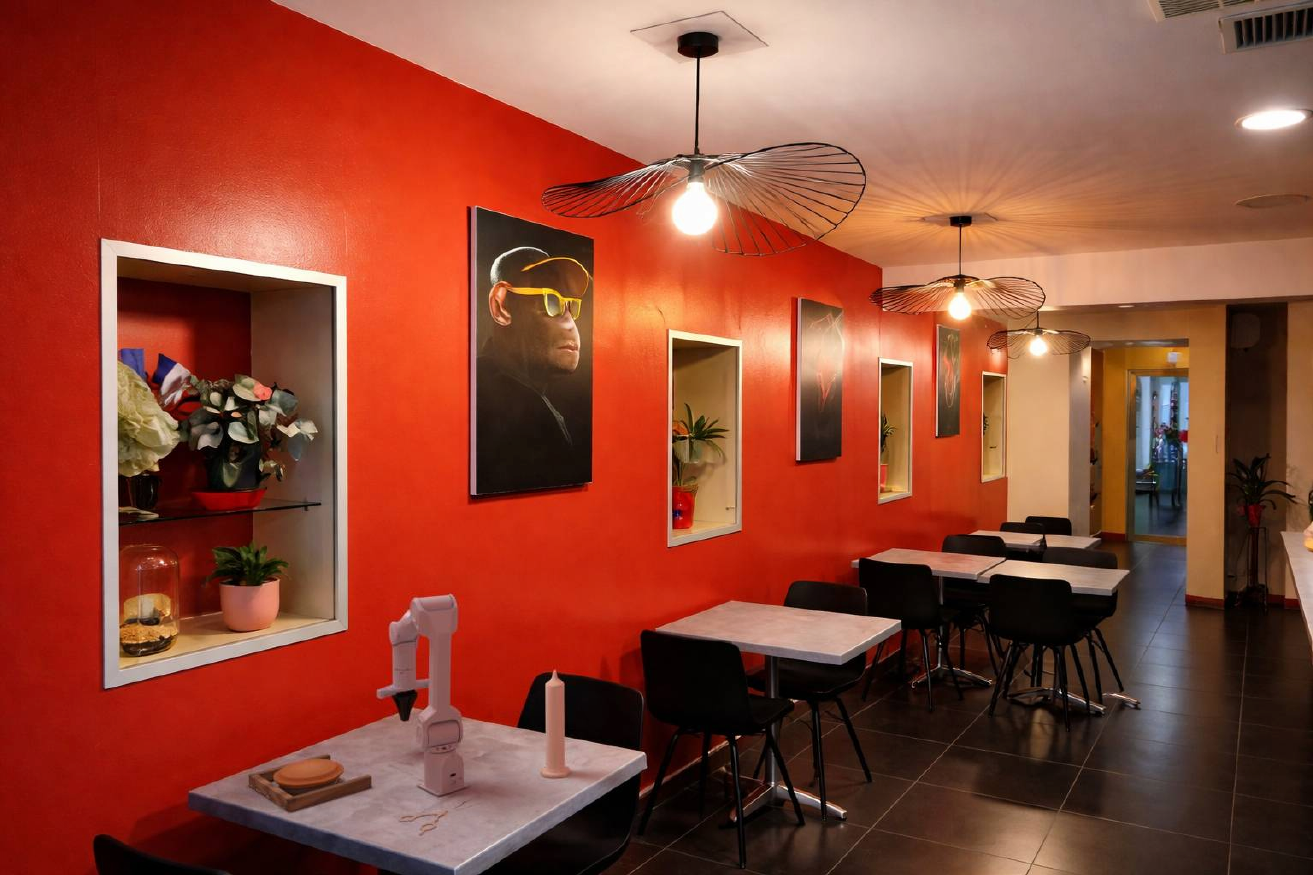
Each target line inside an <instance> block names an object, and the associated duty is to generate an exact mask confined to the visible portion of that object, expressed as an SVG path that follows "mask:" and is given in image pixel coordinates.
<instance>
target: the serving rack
mask: <svg viewBox="0 0 1313 875" xmlns="http://www.w3.org/2000/svg"><path fill="white" fill-rule="evenodd" d="M309 759H328V760H331V755H330V754H329V753H326V754H322V755H319V756H314V757H310V758H306V759H305V760H309ZM303 760H304V759H302V760H301V761H303ZM289 764H290V763H287V764H284V765H280V766H277V767H273V768H269V769H265V770H261V771H258V772H253V773H250V774H248V786H249V785H251V786H252V787H253V788H252V787H251V786H250V787H251V788H252V789H254V788H255V789H257V790H258V791H260V792H261V793H263V794H264V795H266V796H268V797H269V798H270V799H269V798H268V799H269V800H271V801H272V800H273V801H272V802H274V801H275V802H276V803H275V802H274V803H275V804H277V803H278V804H279V807H281V808H283V807H284V808H285V809H284V808H283V809H284V810H286V811H288V812H294V811H297V810H299V809H303V808H307V807H309V806H313V805H316V804H317V805H318V804H320V803H324V802H327V801H330V800H333V799H337V798H340V797H344V796H347V795H349V794H350V795H351V794H353V793H356V792H360V791H363V790H366V789H370V788H372V775H370V774H367V775H363V776H359V777H357V778H353V779H348V780H346V781H342V782H339V783H335V785H331V786H328V787H324V788H321V789H318V790H314V791H311V792H307V793H304V794H300V795H297V796H291V795H290V794H288V793H286V792H285V791H283V790H282V789H281V788H280V787H278V786H276V785H275V784H273V783H272V782H275V781H274V778H273V776H274V774H275V773H276V772H277V771H279V770H280V769H282V768H284V767H285V766H287V765H289ZM270 781H271V782H270ZM255 789H254V790H255ZM257 790H256V791H257ZM258 791H257V792H258ZM260 792H259V793H260ZM261 793H260V794H261ZM263 794H262V795H263ZM264 795H263V796H264ZM266 796H265V797H266ZM278 804H277V805H278Z"/></svg>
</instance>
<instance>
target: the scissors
mask: <svg viewBox="0 0 1313 875" xmlns="http://www.w3.org/2000/svg"><path fill="white" fill-rule="evenodd" d="M471 799H472V797H470V798H468V799H466V800H464V801H466V802H468V801H469V800H471ZM458 804H461V802H459V803H458ZM461 805H462V804H461ZM461 805H457V804H454V805H453V806H451V807H457V808H459V806H461ZM463 807H466V808H470V807H472V804H469V806H468V805H465V806H463ZM457 808H456V809H457ZM449 810H454V809H450V807H448V808H446V809H444V810H439V811H435V812H431V813H421V814H404V815H402V816H400V817H398V819H397V820H398V822H400V823H408V822H407V821H409V822H413V821H415V820H416V819H417V818H421V817H428V816H429V817H430V815H435V816H436V818H435V819H434V820H432V821H429V822H426V823H425V822H424V823H422V824H421V825H420V827H419V830H420V832H419V833H418V836H423V834H424V833H426V832H428V831H432V830H434V829H435V828H436V822H439V818H441V817H443V816H444V814H445V815H447V814H449V813H452V811H449ZM456 811H459V809H457V810H455V811H454V812H456ZM446 813H447V814H446ZM411 817H412V818H411ZM404 818H408V819H404ZM414 819H415V820H414ZM412 820H413V821H412ZM425 826H426V827H427V826H431V827H429V828H428V827H427V828H424V827H425Z"/></svg>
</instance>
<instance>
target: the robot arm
mask: <svg viewBox="0 0 1313 875" xmlns="http://www.w3.org/2000/svg"><path fill="white" fill-rule="evenodd" d="M458 618H459V606H458V604H457V600H456V597H455V596H454V595H453V594H451V593H449V594H448V593H447V595H437V596H435V595H434V596H427V597H426V596H425V597H414V598H413V599H412V600H411V602H410V607H409V609H408V610H407V611H406V613H404V615H403V616H402V617H401V618H400V620H399V621H392V622H391V623H390V624H389V628H388V634H389V636H388V637H389V641H390V644H391V645H392V684H391V685H388V686H386V687H382V688H378V689H377V690H376V698H378V699H381V700H382V699H385V698H386V697H390V698H392V700H393V702H394V704H395V706H396V709H397V711H398V715H399V719H400V721H402V722H409V721H410V718H411V713H412V710H413V707H414V704H415V702H416V700H417V699H418V697H419V692H418V691H416V690H422V689H425V688H426V689H428V705H427V707H426V708H424V709H423V710H422V712H420V713H419V714H418V716H417V717H418V718H417V724H416V729H415V739H416V740H415V741H416V743H417V747H419V749H421V751H423V775H424V776H423V778H424V779H423V780H424V781H420V782H418V783H416V786H417V787H419V788H421V789H422V790H424V791H427V792H429V793H431V794H432V795H435V796H437V797H440V796H443V795H446V794H450V793H452V792H455V791H460V790H462V789H464V788H467V787H468V784H466V783H465V768H464V767H465V762H464V758H463V757H462V756H461V755H460V754H459V753H458V752H457V748H459V744H460V743H461V742H462V740H463V738H464V724H463V719H462V718H463V717H462V714H461V712H460V711H459V709H458V708H456V707H455V706H453V705H451V662H452V660H451V658H452V657H451V656H452V655H451V653H452V635H453V634H454V633H455V632H457V630H458V624H459V622H458V621H459V619H458ZM420 636H422V637H425V638H427V639H428V641H429V648H428V649H429V654H428V655H429V656H428V657H429V659H428V661H429V662H428V663H429V664H428V669H429V670H428V678H425V679H416V678H417V670H416V669H417V666H416V664H417V662H416V660H417V659H416V653H417V652H416V650H418V643H419V638H420Z"/></svg>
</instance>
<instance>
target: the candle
mask: <svg viewBox="0 0 1313 875" xmlns="http://www.w3.org/2000/svg"><path fill="white" fill-rule="evenodd" d="M565 713H566V712H565V682H564V681H562V680H561V679H560V678H559V677H558V674H557V670H556V669H554V670H553V672H552V677H551V679H550V680H548V681H547V682H546V683H545V766H544V767H542V768H541V770H540V774H541V776H542V777H544V778H548V779H559V778H560V779H561V778H564V777H567V776H569V775H570V773H571V768H570V767H569V766H567V765H566V758H565V757H566V756H565V755H566V750H565V748H566V743H565V742H566V741H565V740H566V738H565V737H566V735H565V727H566V726H565V725H566V724H565V722H566V720H565Z"/></svg>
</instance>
